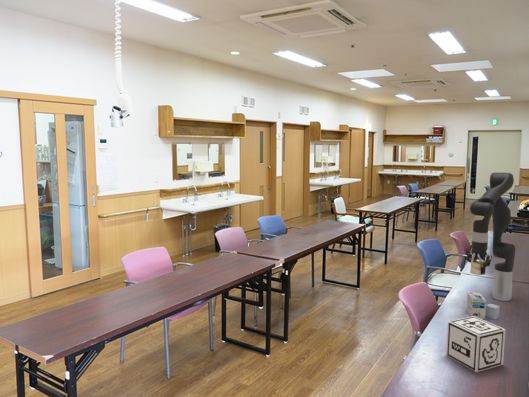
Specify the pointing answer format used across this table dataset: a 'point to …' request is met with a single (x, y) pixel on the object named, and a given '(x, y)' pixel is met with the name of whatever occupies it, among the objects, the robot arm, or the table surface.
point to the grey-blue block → (492, 311)
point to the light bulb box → (476, 305)
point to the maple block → (476, 268)
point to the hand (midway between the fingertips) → (477, 272)
